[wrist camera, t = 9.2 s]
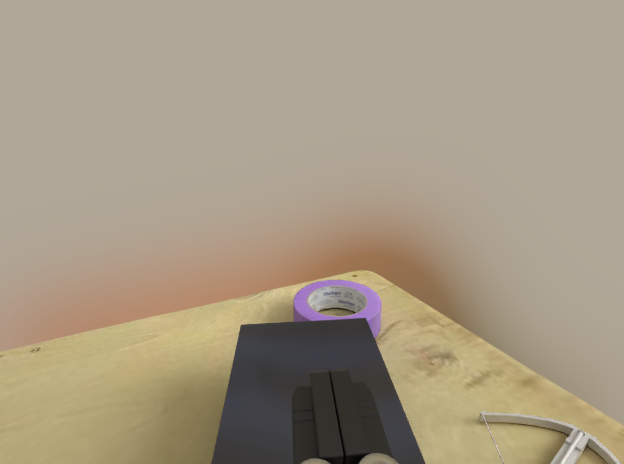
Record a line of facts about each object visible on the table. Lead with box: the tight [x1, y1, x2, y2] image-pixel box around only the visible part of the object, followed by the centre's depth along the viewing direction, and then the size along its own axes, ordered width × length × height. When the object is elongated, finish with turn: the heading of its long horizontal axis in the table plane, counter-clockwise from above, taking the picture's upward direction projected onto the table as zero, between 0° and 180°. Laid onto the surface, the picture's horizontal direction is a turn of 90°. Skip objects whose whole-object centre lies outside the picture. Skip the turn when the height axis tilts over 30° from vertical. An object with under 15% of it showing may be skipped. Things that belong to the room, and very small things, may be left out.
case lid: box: [212, 318, 425, 464], centre depth 27 cm, size 16×13×1 cm
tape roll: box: [294, 280, 381, 339], centre depth 47 cm, size 12×12×4 cm
